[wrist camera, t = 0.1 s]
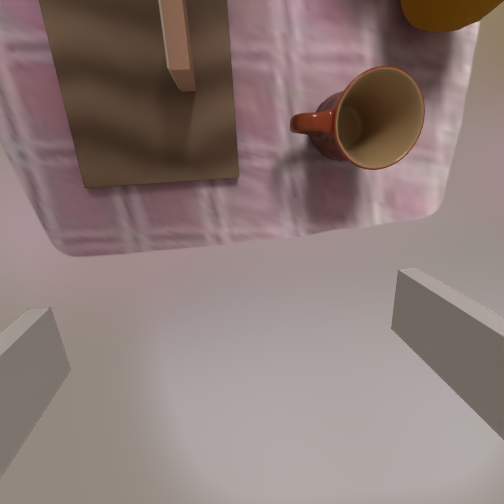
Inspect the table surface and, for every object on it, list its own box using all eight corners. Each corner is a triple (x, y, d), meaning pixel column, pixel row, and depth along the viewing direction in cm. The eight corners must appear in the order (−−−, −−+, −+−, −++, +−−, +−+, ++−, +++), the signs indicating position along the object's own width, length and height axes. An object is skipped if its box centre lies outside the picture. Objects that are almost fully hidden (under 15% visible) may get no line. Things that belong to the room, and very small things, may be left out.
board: (32, -49, 28) (24, -58, 27) (222, -48, 29) (222, -56, 28) (88, 187, 35) (84, 188, 34) (238, 176, 37) (239, 177, 36)
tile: (169, 14, 30) (152, -41, 21) (187, 13, 30) (177, -41, 21) (179, 91, 32) (167, 70, 23) (195, 91, 32) (190, 69, 24)
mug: (373, 89, 36) (433, 66, 26) (365, 164, 38) (416, 169, 29) (276, 88, 34) (302, 63, 24) (275, 166, 37) (297, 171, 27)
